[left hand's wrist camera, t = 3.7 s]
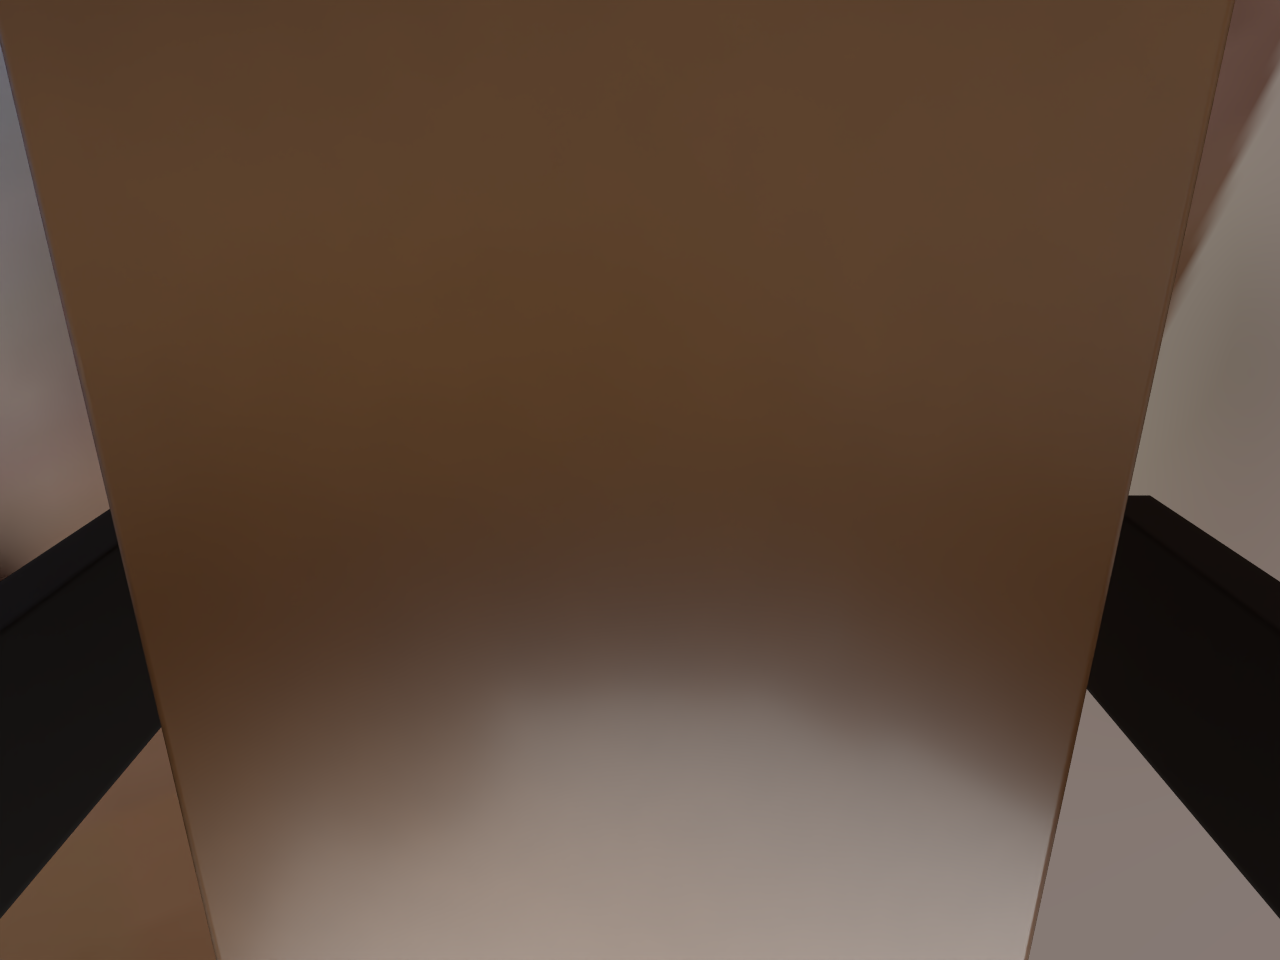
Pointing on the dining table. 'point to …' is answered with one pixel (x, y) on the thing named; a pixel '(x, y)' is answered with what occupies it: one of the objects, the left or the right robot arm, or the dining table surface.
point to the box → (617, 446)
